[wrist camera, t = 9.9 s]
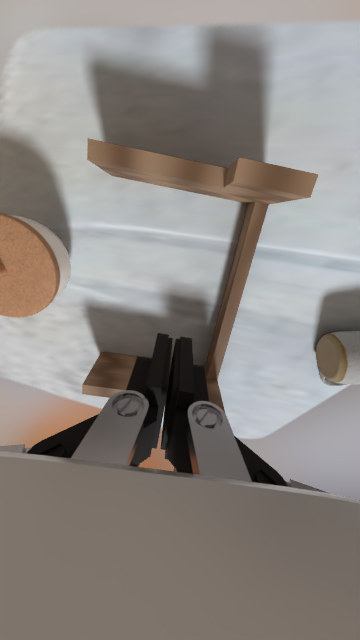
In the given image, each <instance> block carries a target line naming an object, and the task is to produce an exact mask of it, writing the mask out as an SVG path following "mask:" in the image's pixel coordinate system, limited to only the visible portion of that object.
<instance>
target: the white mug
mask: <svg viewBox="0 0 360 640" xmlns="http://www.w3.org/2000/svg"><path fill="white" fill-rule="evenodd" d="M316 360H317V364H318V367H319V369H320V372H319V375H320V378H321V380H322V381H323V383H324V384H326V385H330V386H341V385H347V384H360V331H341V332H333V333H328V334H326V335H324V336H322V338H321V339H320V340H319V342H318V344H317V348H316Z"/></svg>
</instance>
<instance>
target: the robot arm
mask: <svg viewBox="0 0 360 640" xmlns="http://www.w3.org/2000/svg"><path fill="white" fill-rule="evenodd" d="M168 337H169V335H167V334H160V333H158V335H157V340H156V344H155V348H154V353H153V357H152V358H145V357H139V356H138V357H137V359H136V362H135V365H134V368H133V371H132V374H131V377H130V380H129V382H128V385H127V388H126V390H124V391H120V392H117V393H115V394H114V395H112V396H111V397H110V399H109V400H108V401H107V403H106V404H105V406H104V408H103V409H102V411H101V412H100V414H98V415H96V416H94V417H91V418H89V419H87V420H85V421H83V422H81V423H79V424H76V425H74V426H73V427H70V428H68V429H66V430H64V431H61V432H59V433H57V434H55V435H53V436H51V437H49V438H47V439H44V440H42V441H41V442H39V443H37V444H36V445H34V446H33V447H32V448H25V445H11V446H0V640H360V500H357V499H353V498H349V497H344V496H339V495H334V494H330V493H327V492H325V491H322V490H319V489H316V488H313V487H310V486H308V485H305V484H302V483H299V482H296V481H293V480H291V479H290V480H289V482H286V481H284V479H283V478H282V477H281V475H280V474H279V473H278V472H277V471H276V470H274V469H273V468H272V467H271V466H269V465H268V464H267V463H266V462H265V461H264V460H262V459H261V458H260V457H259V456H258V455H257V454H255V453H254V452H253V451H252V450H251V449H249V448H248V447H247V446H246V445H245V444H243V443H242V442H241V441H240V440H239V439H238V438H236V437H235V436H234V434H233V432H232V429H231V427H230V424H229V422H228V419H227V416H226V415H225V413H224V411H223V410H222V409H221V408H220V407H218V406H217V405H215V404H213V403H211V402H209V396H208V389H207V382H206V374H205V368H204V366H197V365H193V353H192V338H185V337H180V339H176V341H175V346H174V352H173V357H172V362H171V368H170V360H171V350H172V340H173V338H168ZM169 371H170V373H169ZM165 401H166V402H165ZM164 407H165V411H164ZM163 412H164V421H163V431H162V442H161V449H163V450H166V451H165V459H168V460H169V461H170V462H171V463H172V465H173V466H174V472H173V471H166V470H158V469H150V468H142V467H139V466H140V463H141V462H143V461H144V460H146V459H147V458H148V457H150V455H151V449H152V448H157V443H158V438H159V433H160V428H161V423H162V417H163Z"/></svg>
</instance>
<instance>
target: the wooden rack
mask: <svg viewBox="0 0 360 640" xmlns="http://www.w3.org/2000/svg"><path fill="white" fill-rule="evenodd" d="M87 160H89V161H90V162H92V163H93V164H95V165H96V166H98V167H100V168H101V169H103V170H104V171H106V172H107V173H109V174H110V175H112V176H116V177H121V178H126V179H131V180H136V181H140V182H145V183H150V184H155V185H160V186H165V187H170V188H175V189H180V190H185V191H189V192H194V193H199V194H204V195H209V196H214V197H219V198H224V199H229V200H234V201H238V202H243V203H248V206H247V210H246V213H245V217H244V221H243V225H242V229H241V232H240V236H239V240H238V244H237V248H236V252H235V255H234V259H233V263H232V267H231V271H230V274H229V278H228V282H227V286H226V290H225V294H224V297H223V301H222V305H221V309H220V313H219V316H218V320H217V324H216V328H215V332H214V336H213V339H212V343H211V347H210V351H209V355H208V358H207V362H206V366H205V367H204V368H205V374H206V382H207V389H208V396H209V402H211V403H213V404H215V405H217V406H218V407H220V408H221V409H222V410H223V411H224V406H223V402H222V398H221V394H220V390H219V386H218V381H217V379H218V375H219V372H220V368H221V365H222V362H223V358H224V355H225V351H226V348H227V345H228V341H229V338H230V334H231V331H232V327H233V324H234V321H235V317H236V314H237V310H238V307H239V304H240V300H241V297H242V293H243V290H244V286H245V283H246V280H247V276H248V273H249V269H250V266H251V263H252V259H253V256H254V252H255V249H256V245H257V242H258V239H259V235H260V232H261V228H262V225H263V222H264V218H265V215H266V211H267V208H268V204H274V203H280V202H285V201H291V200H297V199H303V198H309V197H311V194H312V191H313V188H314V185H315V183H316V180H317V177H318V174H314V173H309V172H305V171H300V170H295V169H291V168H286V167H282V166H277V165H273V164H268V163H263V162H259V161H254V160H250V159H245V158H240V157H239V158H238V159H237V160H236V161H235V162H234V163H233V164H232V165H231V166H230V167H229V168H224V167H219V166H214V165H210V164H205V163H200V162H196V161H191V160H186V159H182V158H177V157H172V156H168V155H163V154H158V153H154V152H149V151H144V150H140V149H135V148H130V147H126V146H121V145H116V144H112V143H107V142H102V141H97V140H93V139H88V158H87ZM136 359H137V357H135V356H129V355H122V354H115V353H109V352H101V354H100V356H99V357H98V359H97V361H96V362H95V364H94V366H93V368H92V369H91V371H90V373H89V374H88V376H87V378H86V380H85V381H84V383H83V390H82V394H86V395H94V396H101V397H108V398H110V397H111V396H112V395H114V394H115V393H117V392H120V391H124V390H126V388H127V385H128V382H129V380H130V377H131V374H132V371H133V368H134V365H135V362H136ZM170 368H171V362H170ZM169 373H170V371H169ZM165 402H166V401H165ZM224 413H225V411H224Z"/></svg>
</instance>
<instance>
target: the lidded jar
mask: <svg viewBox="0 0 360 640" xmlns="http://www.w3.org/2000/svg"><path fill="white" fill-rule="evenodd" d="M70 273H71V263H70V258H69V254H68V252H67V250H66V248H65V246H64V244H63V243H62V241H61V240H60V239H59V238H58V237H57V236H56V235H55V234H54V233H53V232H52V231H51V230H50V229H48V228H47V227H46V226H44V225H42V224H40V223H38V222H36V221H33V220H31V219H28V218H25V217H21V216H16V215H9V214H3V213H0V315H3V316H8V317H27V316H31V315H34V314H36V313H38V312H40V311H41V310H43V309H44V308H46V307H47V306H48V305H49V304H50V303H51V302H53V301H54V300H55V299H56V298H57V297H58V296H59V295H60V294H61V293H62V292H63V290H64V289H65V287H66V286H67V283H68V281H69V278H70Z"/></svg>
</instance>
